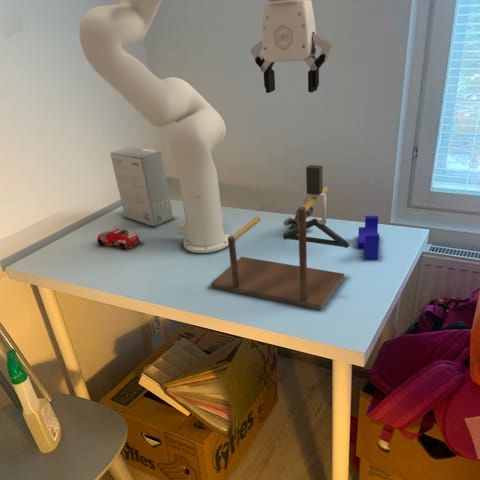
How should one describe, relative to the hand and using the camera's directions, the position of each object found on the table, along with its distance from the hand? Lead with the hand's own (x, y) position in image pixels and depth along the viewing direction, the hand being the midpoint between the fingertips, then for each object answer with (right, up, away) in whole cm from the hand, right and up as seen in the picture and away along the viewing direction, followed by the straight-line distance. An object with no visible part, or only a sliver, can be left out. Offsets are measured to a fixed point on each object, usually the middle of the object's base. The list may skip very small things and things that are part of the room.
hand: (291, 91), depth 102 cm
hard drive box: (-39, -17, +48) cm, 64 cm away
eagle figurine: (+5, -24, +29) cm, 38 cm away
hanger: (+4, -32, -4) cm, 33 cm away
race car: (-44, -27, +33) cm, 62 cm away
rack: (-2, -40, +6) cm, 40 cm away
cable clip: (+20, -31, +17) cm, 40 cm away
